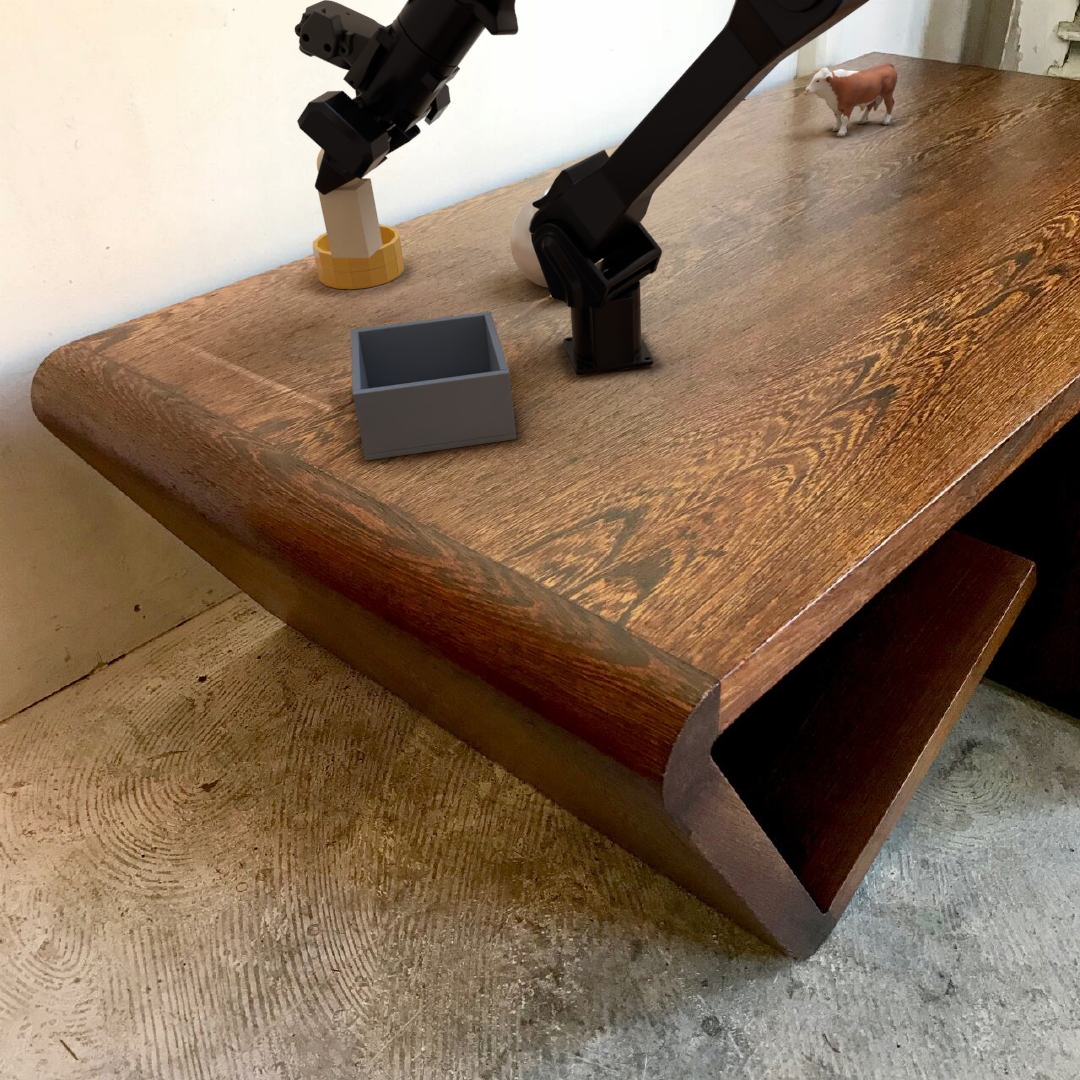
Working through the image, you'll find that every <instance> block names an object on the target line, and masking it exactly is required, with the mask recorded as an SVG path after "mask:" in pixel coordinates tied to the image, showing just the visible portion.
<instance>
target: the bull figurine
mask: <svg viewBox="0 0 1080 1080" xmlns="http://www.w3.org/2000/svg"><path fill="white" fill-rule="evenodd" d="M897 83H898V72H897V70H896V68H895V66H894V64H892V63H891V62H886V63H883V64H880V65H879V64H878V65H875V66H871V67H868V68H864V69H860V70H845V69H842V68H839V69H835V70H833V71H830V70H829V68H827V67H824V66H823V67H822V68H820V69H819V70H818V72H816V73H815V74H814V75H813V77H812V80H811V81H810V83H809V84H808V85H807V86H806V87H805V92H806V94H808V95H813V94H814V95H815V96H816V97H818V98H820V99H821V100H822V99H823V100H824V101H825V104H826V105H827V106H828V108H829V109H830V110H831V112H832V113H834V117H835V119H836V122H835V125H834V126H833V128H832V131H834V132H837V133H836V136H837V137H845V135H846V134H847V132H848V130H847V124H848V123H849V121H850V118H851V115H852V113H853V111H854V108H855V107H859V108H860V112H863V113H862V115H861V116H860V117H859V118H858V119H857V121H856V124H858V125H859V124H860V125H861V124H865V121H868V120H869V115H870V112H871V111H872V109H873V111H874V112H876V111H877V110H878V108H879V107H880V106H881V105H882V102H884V105H885V109H886V110H885V115H884V117H883V120H882V122H881V125H885V126H886V125H887V126H888V125H890V123H891V120H892V113H893V108H894V106H895V103H896V101H895V99H894V96H893V95H894V91H895V89H896V86H897Z"/></svg>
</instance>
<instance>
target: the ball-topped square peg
mask: <svg viewBox="0 0 1080 1080" xmlns="http://www.w3.org/2000/svg"><path fill="white" fill-rule="evenodd" d="M323 154H324V150H323V149H322V148H320V150H319V152H318V154H317V158H316V169H317V173H318V172H319V168H320V165H321V161H322V158H323ZM317 193H318V198H319V202H320V208H321V212H322V218H323V222H324V226H325V227H324V228H325V230H326V232H327V236H328V241H329V246H330V251H331V255H332V258H370V257H371V256H372V255H373V254H374V253H375V252H376V251H377V250H378V249H379V248H380V247H381V246H383V244H382V239H381V233H380V228H379V224H380V222H379V218H378V211H377V205H376V200H375V194H374V189H373V183H372V178H369V177H368V178H365V177H363V178H362V179H359V178H356V179H354V180H352V181H350V182H348V183H346V184H344V185H343V186H341V187H339V188H337V189H335V190H333V191H332V192H330V193H328V194H326V195H323V194H321V193H320V192H319V191H318V190H317ZM326 232H325V233H326Z"/></svg>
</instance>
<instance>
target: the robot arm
mask: <svg viewBox="0 0 1080 1080" xmlns="http://www.w3.org/2000/svg"><path fill="white" fill-rule="evenodd" d="M868 2H870V0H734V3H733V6H732V8H731V11H730V13H729V17H728V19H727V21H726V23H725V25H724V27H723V28H722V29H721V30H720V31H719V33H718V34H717V35H716V36H715V37H714V39H712V41H711V42H710V43H709V44H708V45H707V46H706V47H705V49H704V50H703V51H702V52H701V53H700V54H699V55H698V57H697V58H696V59H694V61H693V62H692V63H691V64H690V66H689V67H688V68H687V69H686V70H685V71H684V73H682V74H681V76H680V77H679V78H678V79H677V80H676V81H675V83H674V84H673V85H672V86H671V87H670V88H668V90H667V92H666V93H664V95H663V96H662V97H661V98H660V99H659V101H658V102H657V103H656V104H655V105H654V106H653V108H651V110H650V111H648V113H647V114H646V115H645V116H644V118H643V119H642V120H641V121H640V122H639V123H638V124H637V125H636V126H635V128H633V130H632V131H631V132H630V133H629V134H628V135H627V136H626V137H625V139H624V140H623V141H622V142H621V143H620V145H619V146H618V147H617V148H616V149H615V150H614V151H613V153H611V155H609V154H608V153H607V151H606V150H605V149H602V150H600V151H598V152H596V153H594V154H592V155H590V156H587V157H585V158H584V159H582V160H580V161H578V162H576V163H574V164H572V165H570V166H568V167H566V168H564V169H562V170H561V171H560V172H559V173H558V175H557V176H556V177H555V179H554V180H553V182H552V184H551V185H552V186H551V188H550V189H549V191H548V192H547V194H546V195H545V196H544V197H542V198H540V199H538V200H536V201H534V202H533V203H532V205H533V207H535V208H537V209H539V210H538V211H537V212H536V213H535V214H534V215H533V217H532V219H531V221H530V225H529V232H530V233H531V241H532V244H533V247H534V250H535V253H536V255H537V258H538V261H539V264H540V266H541V269H542V272H543V275H544V277H545V280H546V283H547V286H548V288H547V289H548V291H549V293H550V294H549V295H550V297H551V298H552V299H553V300H555V301H560V302H563V303H565V304H566V306H567V307H568V308H570V321H571V336H570V337H565V338H563V339H562V342H563V347H564V349H565V352H566V354H567V357H568V359H569V361H570V364H571V367H572V369H573V371H574V373H575V375H577V376H586V375H593V374H600V373H609V372H616V371H623V370H630V369H637V368H644V367H645V368H646V367H650V366H652V365H654V357H653V355H652V353H651V352H650V350H649V348H648V346H647V345H646V343H645V341H644V340H643V338H642V310H641V309H642V305H641V299H642V298H641V280H643V279H645V278H646V277H647V276H649V275H652V274H653V273H655V272H656V271H657V268H658V265H659V264H660V259H661V257H662V254H663V250H662V248H661V246H660V245H659V244H658V243H657V241H656V240H655V238H653V236H652V235H651V234H650V233H649V231H648V230H647V229H646V228H645V226H644V225H643V224H642V221H643V219H644V218H645V217H646V215H647V212H648V209H649V206H650V203H651V200H652V197H653V195H654V193H655V192H656V190H657V189H658V188H659V187H660V186H661V185H662V184H663V183H664V182H665V181H666V180H667V179H668V178H669V177H670V176H671V174H672V173H674V172H675V171H676V169H678V168H679V167H680V165H681V164H682V163H683V162H684V161H685V160H686V159H688V157H689V156H690V155H691V154H692V153H693V152H694V151H695V150H696V149H697V148H698V147H699V146H700V145H701V144H702V143H703V142H704V141H705V140H706V139H707V138H708V137H709V135H711V134H712V133H713V132H714V130H715V129H716V128H717V127H718V126H719V125H720V124H721V123H722V122H723V121H724V120H726V118H727V117H728V116H730V114H731V113H733V111H734V110H735V109H736V108H737V107H738V106H739V105H740V104H741V103H742V102H743V101H744V100H745V99H746V98H747V97H748V96H749V95H750V94H751V93H752V92H753V91H754V90H755V88H757V86H758V85H760V83H762V81H763V80H765V78H766V77H767V76H768V75H769V74H770V73H771V72H772V71H773V70H774V69H775V68H776V67H777V66H778V65H779V64H780V63H781V62H782V61H784V60H785V59H786V58H788V57H789V56H791V55H792V54H794V53H795V52H797V51H799V50H800V49H801V48H803V47H805V45H808V44H809V43H810V42H813V40H815V39H817V38H818V37H819V36H821V35H822V34H824V33H825V32H827V31H828V30H830V29H831V28H833V27H834V26H836V25H837V24H838V23H840V22H841V21H843V20H844V19H846V18H847V17H849V16H850V15H851V14H853V13H854V12H855V11H857V10H858V9H860V8H861V7H862V6H864V5H865V4H867V3H868ZM485 29H486V30H487V32H488V33H489V34H490V35H492V36H515V35H517V34H518V33H519V24H518V17H517V13H516V0H407V1H406V2H405V4H404V5H403V7H402V8H401V10H400V12H399V13H398V14H397V16H396V18H395V19H394V20H393V21H392V23H389V24H388V25H386V26H385V25H383V24H381V23H379V22H378V21H377V20H375V19H373V18H372V17H369V16H367V15H365V14H363V13H360V12H359V11H356V10H354V9H352V8H350V7H348V6H346V5H344V4H342V3H339V2H337V1H334V0H321V1H319V2H316V3H314V4H312V5H309V6H307V7H306V8H305V11H304V12H303V13H302V14H301V19H300V21H299V23H297V24H296V25H295V27H294V33H295V35H296V36H297V37H298V39H299V40H298V50H299V51H300V52H301V53H302V54H304V55H305V56H308V57H310V58H312V57H316V58H318V59H320V60H322V61H324V62H326V63H329V64H331V65H333V66H335V67H337V68H339V69H342V70H345V71H347V72H346V73H345V76H344V77H343V80H344V82H345V83H347V84H348V85H349V86H350V87H351V88H352V89H353V90H354V93H355V97H353V98H352V97H350V96H349V95H348V94H347V93H346V92H345V91H344V90H327V91H325V92H324V93H322V94H321V95H319V96H317V97H315V98H314V99H312V100H311V101H309V102H308V103H307V104H306V106H305V107H304V108H303V111H302V112H301V114H300V115H299V117H298V119H297V120H296V122H297V125H298V128H299V129H300V130H301V131H302V132H303V133H304V134H305V135H306V136H308V137H309V138H310V139H311V140H312V142H314V143H315V144H316V145H317V146H319V147H320V149H323V150H324V154H323V158H322V161H321V165H320V168H319V172H318V171H317V176H316V179H315V183H314V188H315V189H316V191H317V192H318V191H319V192H320V193H321V194H323V195H326V194H328V193H330V192H332V191H333V190H335V189H337V188H339V187H341V186H343V185H344V184H346V183H348V182H350V181H352V180H354V179H356V178H359V179H362V178H365V177H366V176H368V174H369V173H371V172H372V171H374V170H375V169H377V168H378V167H380V165H382V164H383V163H384V162H385V161H387V160H388V155H389V154H391V153H393V152H395V151H396V150H398V149H400V148H401V147H403V146H404V145H405V146H406V145H407V144H408V143H410V142H411V141H412V140H414V139H415V138H416V137H417V136H419V135H420V134H421V131H422V130H421V128H420V127H419V125H417V124H418V123H419V122H421V121H422V120H423V119H424V122H425V123H426V124H427V125H428V126H431V125H432V124H433V123H435V122H436V121H437V120H438V119H440V118H441V116H442V115H443V113H444V112H445V110H446V109H447V108H448V107H449V105H450V104H451V103H452V102H451V94H450V87H449V85H448V83H449V82H450V81H452V80H453V79H454V78H455V77H456V75H457V74H458V73H459V71H460V70H461V67H459V65H460V64H461V62H462V61H463V59H464V58H465V57H466V55H467V54H468V53H469V51H470V50H471V49H472V47H473V46H474V45H475V43H476V42H477V40H478V39H479V38H480V36H481V35H482V34H483V32H484V30H485ZM598 261H599V262H598ZM597 262H598V263H597ZM595 263H597V264H595ZM594 264H595V265H594Z"/></svg>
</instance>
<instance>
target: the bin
mask: <svg viewBox="0 0 1080 1080" xmlns="http://www.w3.org/2000/svg"><path fill="white" fill-rule="evenodd" d="M350 349H351V350H350V351H351V352H350V353H351V380H352V381H351V385H352V387H351V388H352V390H351V391H352V398H353V404H354V409H355V414H356V419H357V424H358V430H359V435H360V439H361V444H362V450H363V454H364V459H365V461H372V460H380V459H386V458H387V459H388V458H394V457H400V456H407V455H414V454H421V453H429V452H436V451H442V450H443V451H444V450H449V449H450V450H451V449H456V448H464V447H470V446H471V447H472V446H478V445H484V444H485V445H486V444H490V443H491V444H492V443H498V442H504V441H505V442H506V441H513V440H517V435H516V434H517V433H516V423H515V414H514V413H515V412H514V403H513V391H512V384H511V382H512V381H511V374H510V370H509V365H508V362H507V359H506V357H505V353H504V350H503V346H502V343H501V340H500V336H499V334H498V331H497V327H496V324H495V320H494V317H493V314H492V311H483V312H476V313H468V314H467V313H466V314H461V315H453V316H446V317H445V316H444V317H438V318H430V319H421V320H415V321H408V322H400V323H393V324H391V323H390V324H386V325H385V324H384V325H379V326H369V327H362V328H355V329H350Z"/></svg>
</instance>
